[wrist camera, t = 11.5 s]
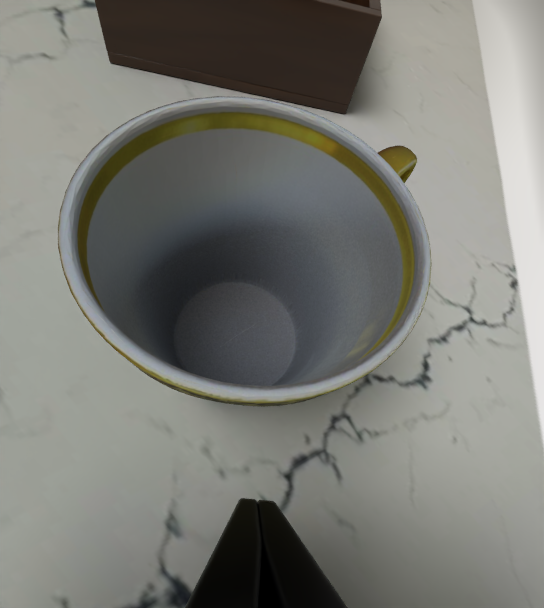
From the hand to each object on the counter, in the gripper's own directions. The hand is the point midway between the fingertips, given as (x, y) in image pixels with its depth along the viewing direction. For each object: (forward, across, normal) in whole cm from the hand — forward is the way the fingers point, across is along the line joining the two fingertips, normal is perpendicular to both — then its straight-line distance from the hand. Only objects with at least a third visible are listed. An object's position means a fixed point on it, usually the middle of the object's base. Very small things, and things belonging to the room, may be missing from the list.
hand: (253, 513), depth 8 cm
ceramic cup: (+12, 0, 0) cm, 12 cm away
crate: (+31, -4, +20) cm, 37 cm away
